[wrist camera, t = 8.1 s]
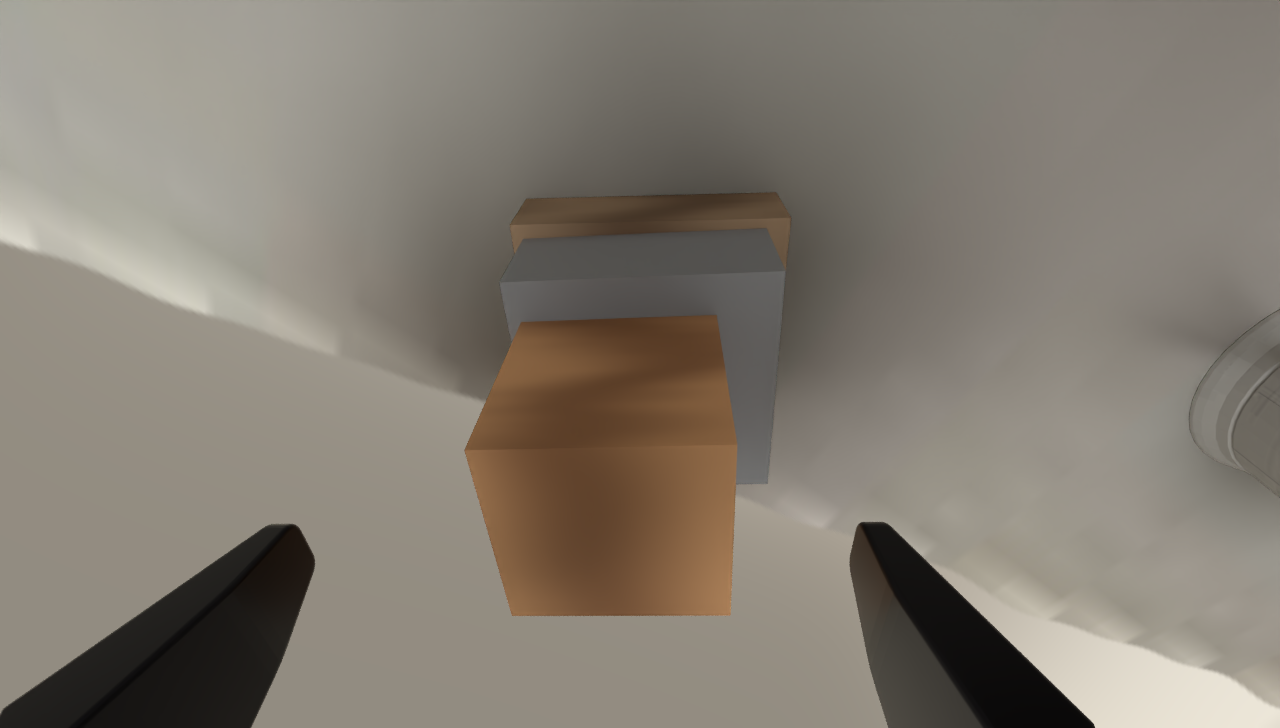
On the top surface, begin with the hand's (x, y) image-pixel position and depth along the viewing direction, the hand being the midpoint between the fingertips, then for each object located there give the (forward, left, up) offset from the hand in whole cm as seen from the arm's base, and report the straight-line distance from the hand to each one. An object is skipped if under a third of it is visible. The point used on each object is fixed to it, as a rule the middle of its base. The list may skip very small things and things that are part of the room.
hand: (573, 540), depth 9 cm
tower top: (-1, +2, -10) cm, 10 cm away
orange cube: (0, +2, -7) cm, 7 cm away
